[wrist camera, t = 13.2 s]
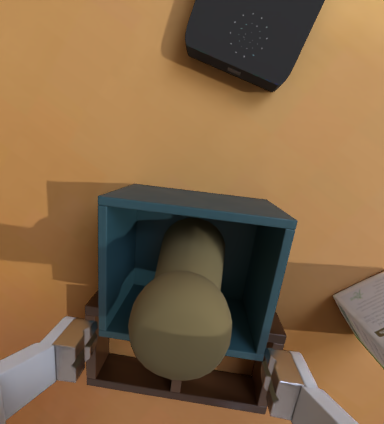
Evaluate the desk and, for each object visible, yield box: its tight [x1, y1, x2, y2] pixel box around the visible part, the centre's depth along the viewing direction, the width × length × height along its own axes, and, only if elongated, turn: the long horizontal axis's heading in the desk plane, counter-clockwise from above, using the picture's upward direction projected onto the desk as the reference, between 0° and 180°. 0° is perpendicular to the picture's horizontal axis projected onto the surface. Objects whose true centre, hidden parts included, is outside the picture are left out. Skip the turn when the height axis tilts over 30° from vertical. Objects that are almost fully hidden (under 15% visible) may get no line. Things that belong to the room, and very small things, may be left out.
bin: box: [98, 184, 297, 361], centre depth 17 cm, size 11×12×7 cm
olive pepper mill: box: [128, 218, 232, 381], centre depth 14 cm, size 6×6×11 cm
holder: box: [85, 291, 286, 414], centre depth 22 cm, size 10×19×3 cm, turn 84°
